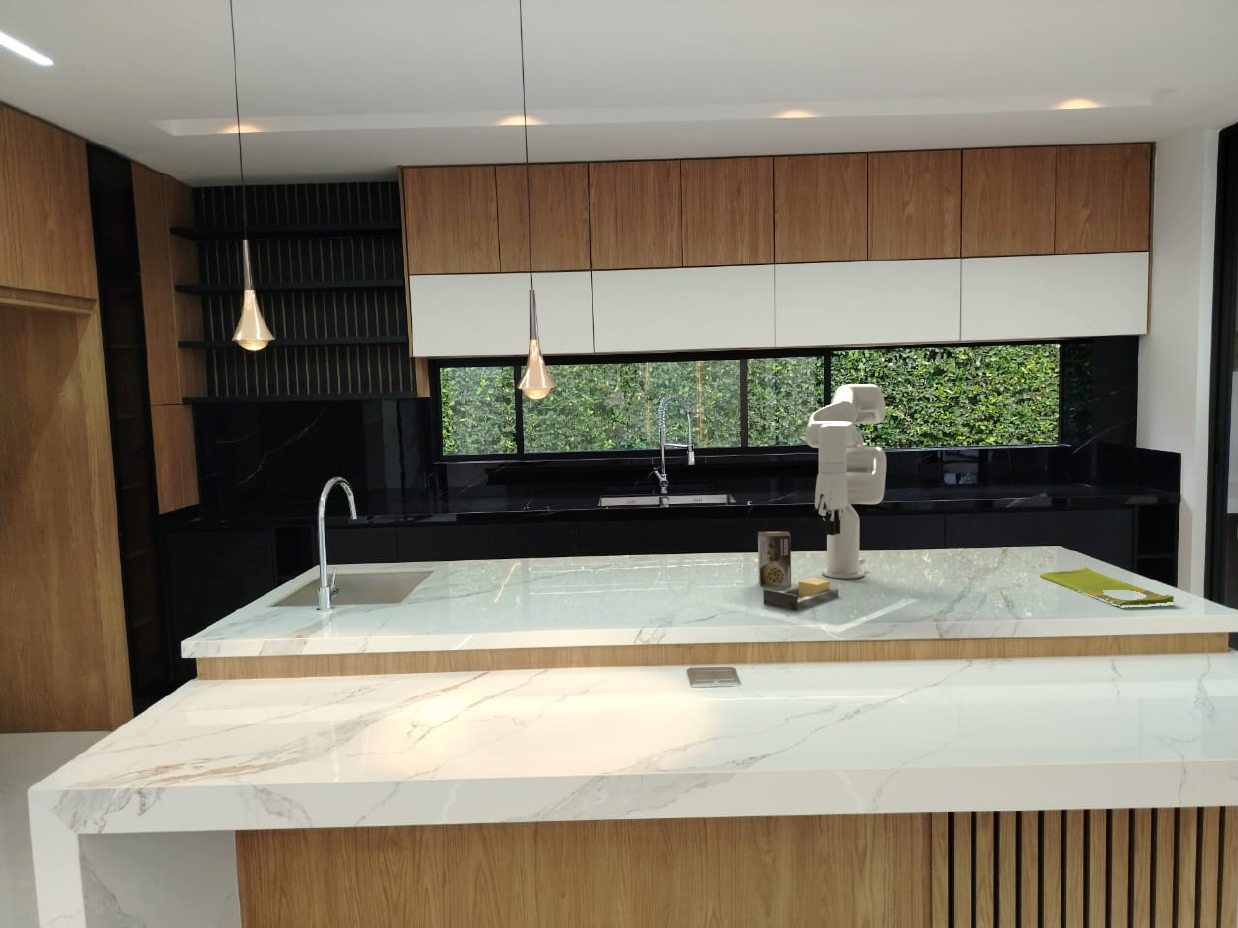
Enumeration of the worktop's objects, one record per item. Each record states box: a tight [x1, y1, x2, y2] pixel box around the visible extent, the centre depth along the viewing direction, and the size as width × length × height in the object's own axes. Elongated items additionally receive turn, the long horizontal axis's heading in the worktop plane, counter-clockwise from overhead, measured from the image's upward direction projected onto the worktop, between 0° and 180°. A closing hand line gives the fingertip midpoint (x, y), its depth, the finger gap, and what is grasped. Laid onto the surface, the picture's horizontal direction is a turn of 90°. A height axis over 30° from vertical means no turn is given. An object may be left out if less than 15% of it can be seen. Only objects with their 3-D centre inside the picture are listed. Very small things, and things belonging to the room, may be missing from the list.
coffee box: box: [757, 531, 792, 587], centre depth 249 cm, size 9×6×16 cm
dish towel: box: [1039, 566, 1175, 606], centre depth 239 cm, size 15×36×3 cm, turn 6°
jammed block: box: [797, 577, 831, 598], centre depth 235 cm, size 6×6×4 cm
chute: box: [763, 585, 839, 612], centre depth 231 cm, size 20×14×5 cm
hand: (832, 533), depth 240 cm, fingers closed
